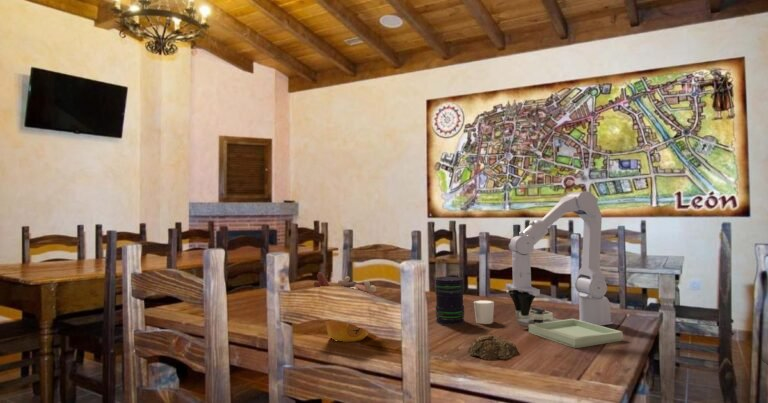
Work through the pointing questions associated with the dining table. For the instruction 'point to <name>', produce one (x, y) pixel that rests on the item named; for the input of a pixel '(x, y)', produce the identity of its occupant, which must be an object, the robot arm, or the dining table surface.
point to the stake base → (530, 321)
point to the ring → (534, 315)
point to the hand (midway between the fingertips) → (522, 314)
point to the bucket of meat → (340, 329)
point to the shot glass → (484, 311)
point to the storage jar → (449, 300)
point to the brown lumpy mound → (492, 348)
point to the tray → (575, 333)
